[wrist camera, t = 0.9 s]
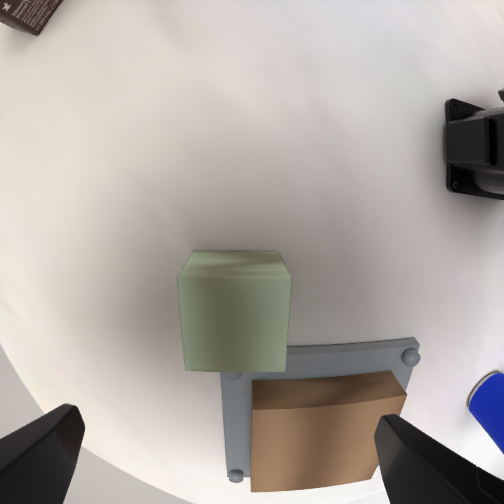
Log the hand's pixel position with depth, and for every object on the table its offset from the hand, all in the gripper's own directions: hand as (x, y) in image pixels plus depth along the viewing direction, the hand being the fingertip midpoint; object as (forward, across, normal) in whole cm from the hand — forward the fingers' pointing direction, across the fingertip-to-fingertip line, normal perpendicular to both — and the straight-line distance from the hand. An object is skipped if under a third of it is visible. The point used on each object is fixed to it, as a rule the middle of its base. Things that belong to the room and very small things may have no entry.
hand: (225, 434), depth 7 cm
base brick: (+12, -6, +11) cm, 17 cm away
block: (+12, 0, 0) cm, 12 cm away
